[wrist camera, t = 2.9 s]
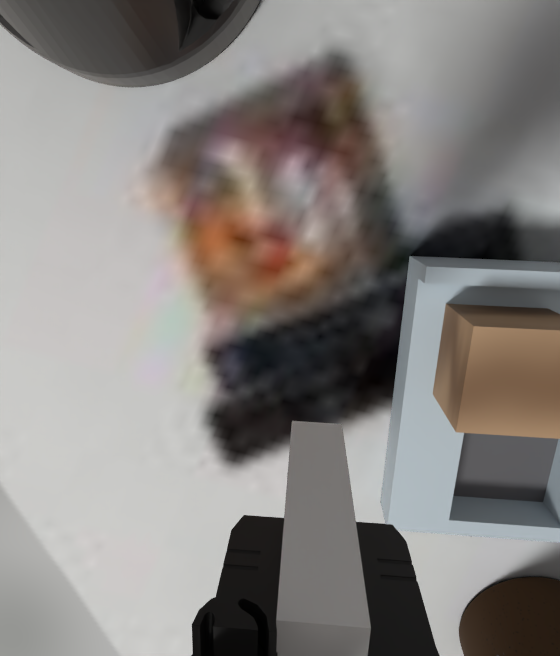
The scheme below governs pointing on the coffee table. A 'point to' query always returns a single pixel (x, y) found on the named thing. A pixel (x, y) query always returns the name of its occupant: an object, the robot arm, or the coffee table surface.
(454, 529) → the board
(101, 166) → the coffee table surface
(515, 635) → the olive oil
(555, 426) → the brown block
